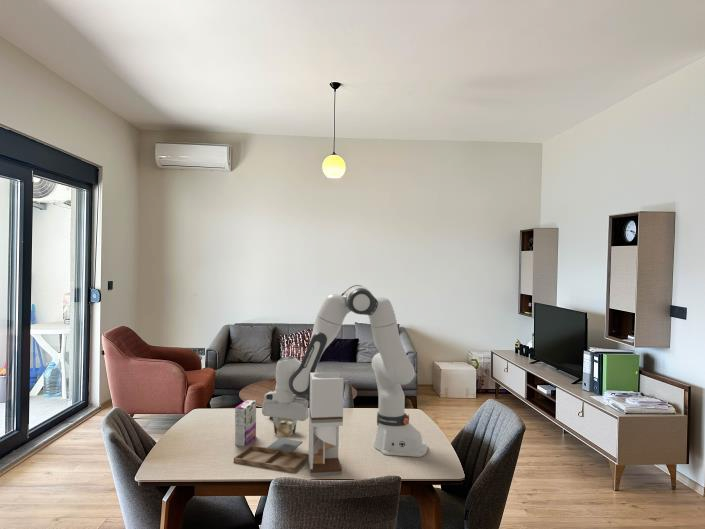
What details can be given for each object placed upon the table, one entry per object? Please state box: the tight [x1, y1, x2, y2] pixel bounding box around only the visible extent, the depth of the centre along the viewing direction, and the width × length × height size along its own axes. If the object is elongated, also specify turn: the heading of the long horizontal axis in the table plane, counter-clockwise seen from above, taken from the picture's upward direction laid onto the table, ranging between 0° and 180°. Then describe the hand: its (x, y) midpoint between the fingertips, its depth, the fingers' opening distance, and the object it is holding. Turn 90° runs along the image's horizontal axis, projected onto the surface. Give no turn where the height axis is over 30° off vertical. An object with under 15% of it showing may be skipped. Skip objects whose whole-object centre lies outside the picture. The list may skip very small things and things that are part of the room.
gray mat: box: [266, 437, 303, 452], centre depth 189 cm, size 11×11×1 cm
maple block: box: [276, 421, 293, 439], centre depth 189 cm, size 5×5×5 cm
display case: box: [307, 371, 345, 477], centre depth 169 cm, size 11×11×35 cm
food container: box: [272, 418, 297, 435], centre depth 206 cm, size 12×6×10 cm, turn 84°
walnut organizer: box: [233, 445, 309, 474], centre depth 174 cm, size 26×13×2 cm, turn 72°
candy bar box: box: [234, 399, 257, 447], centre depth 194 cm, size 11×5×16 cm, turn 168°
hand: (284, 428), depth 189 cm, fingers closed on maple block, 5 cm apart
